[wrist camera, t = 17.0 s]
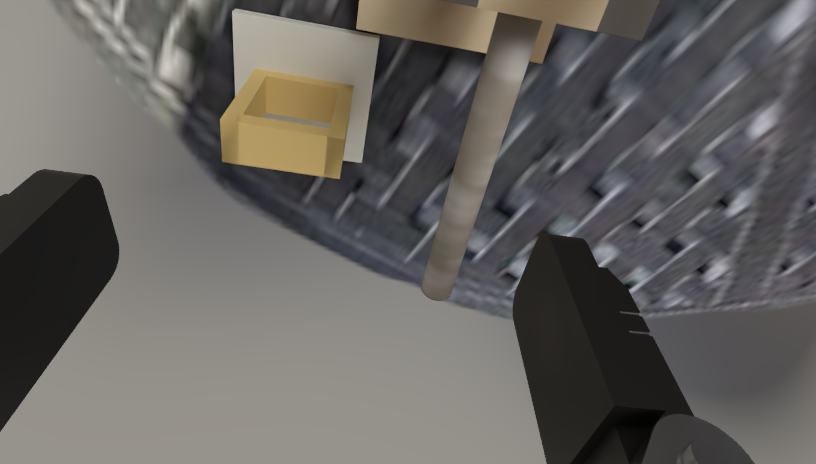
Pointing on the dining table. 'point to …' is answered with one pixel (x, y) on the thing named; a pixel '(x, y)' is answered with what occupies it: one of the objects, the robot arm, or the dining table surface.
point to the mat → (309, 62)
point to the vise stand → (490, 85)
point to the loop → (287, 124)
